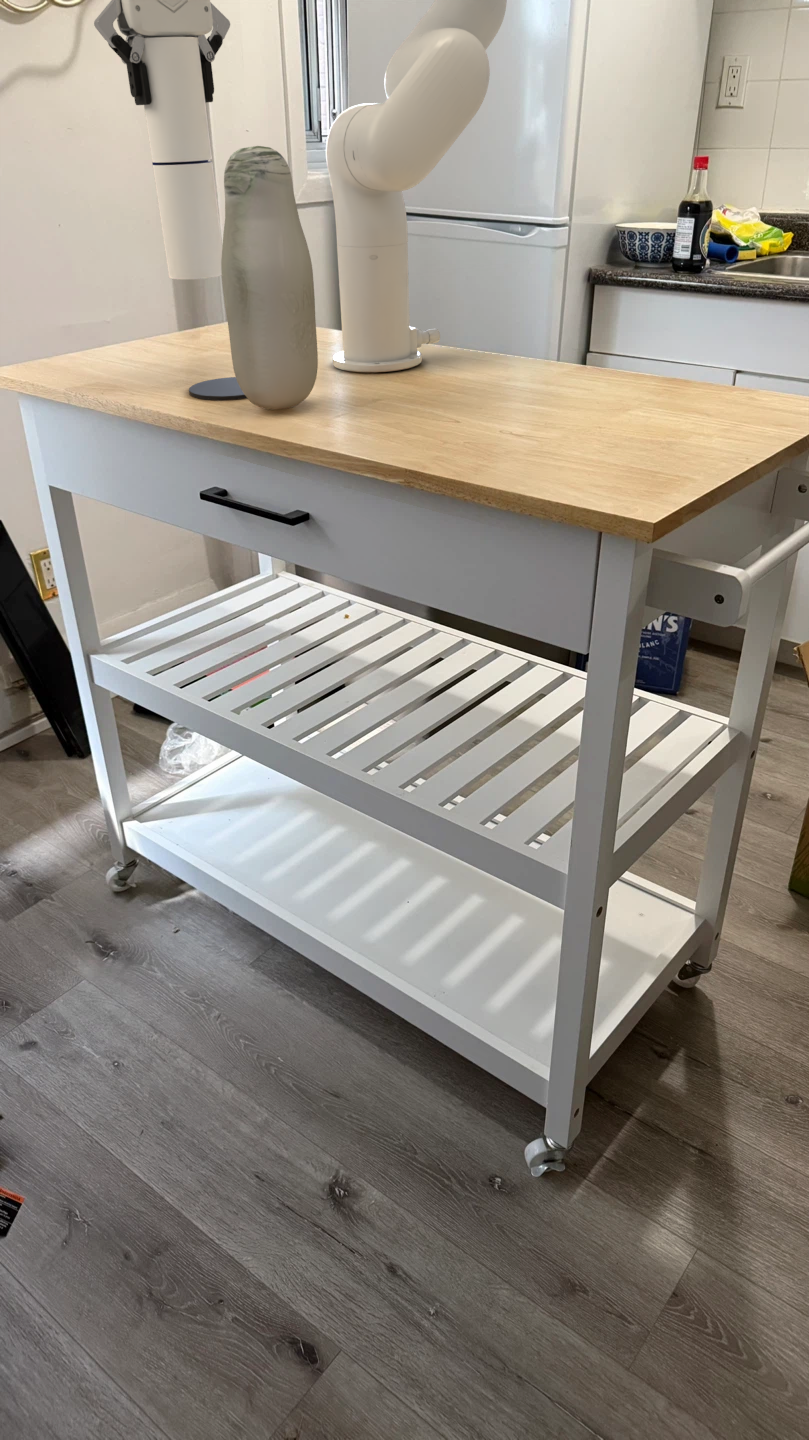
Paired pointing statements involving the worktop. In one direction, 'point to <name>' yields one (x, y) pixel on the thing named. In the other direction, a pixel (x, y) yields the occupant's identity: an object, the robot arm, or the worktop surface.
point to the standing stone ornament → (267, 281)
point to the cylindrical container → (182, 158)
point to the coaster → (217, 389)
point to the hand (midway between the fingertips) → (174, 102)
